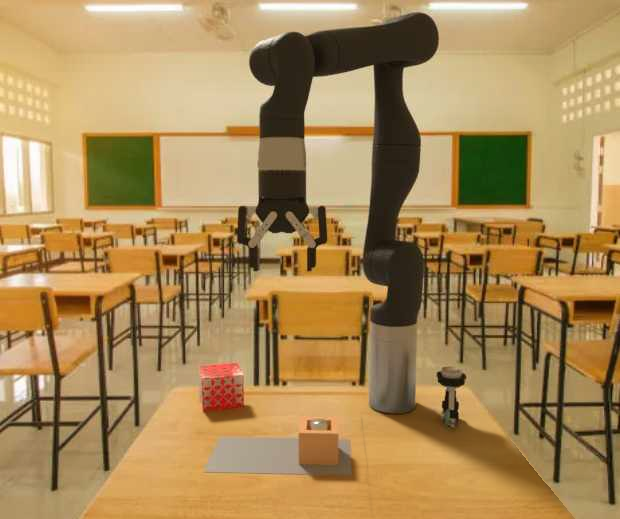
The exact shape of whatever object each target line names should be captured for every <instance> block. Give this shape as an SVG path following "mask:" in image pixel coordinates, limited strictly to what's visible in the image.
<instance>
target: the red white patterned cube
mask: <svg viewBox="0 0 620 519" xmlns="http://www.w3.org/2000/svg"><path fill="white" fill-rule="evenodd" d="M244 382H245V381H244V373H243V371H242V369H241V367H240V365H239V362H231V363H230V362H228V363H227V362H226V363H216V364H206V365H205V364H203V365H198V395H199V400H198V401H199V402H198V403H199V405H201V406H202V411H211V410H221V409H223V410H224V409H231V408H242V407H244V406H245V396H244V395H245V393H244V391H245V390H244V389H245V387H244Z"/></svg>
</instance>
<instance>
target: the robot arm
mask: <svg viewBox="0 0 620 519" xmlns="http://www.w3.org/2000/svg"><path fill="white" fill-rule="evenodd" d="M439 41H440V36H439V29H438V26H437V24H436V22H435V20H434V19H433V18H432V17H431V16H430V15H429V14H426V13H424V12H420V11H419V12H410V13H405V14H403V15H398V16H396V17H392V18H388V19H386V20H384V21H382V22H381V23H379V24H377V25H370V26H369V25H368V26H358V27H344V28H335V29H334V28H333V29H326V30H325V29H324V30H317V31H313V32H311V33H308V34H305V35H304V34H302V33H300V32H298V31H287V32H285V33H280V34H278V35H275V36H272V37H269V38H266V39H263V40H261V41H259V42H258V43H257V44H256V45H255V46H254V47H253V48H252V50H251V53H250V55H249V57H248V58H249V59H248V60H249V61H248V65H249V70H250V73H251V74H252V76H253V77H254V79H256V80H257V81H258V82H259V83H261V84H263V85H264V86H268V87H274V88H273V92H272V94H271V96H270V97H269V98H268V99H267V100H265V101H264V102H263V103H261V105H260V108H259V115H258V116H259V117H258V118H259V123H258V124H259V128H258V129H259V142H258V144H259V145H258V152H257V170H258V173H257V174H258V179H257V180H258V184H257V185H258V202H257V204H256V207H255V206H247V205H240V206H239V207H238V209H237V210H238V211H237V229H236V230H237V234H236V241H237V243H238V244H239V245H240V244H241V245H243V246H246V247H248V250H249V251H248V254H249V255H248V257H249V258H248V259H249V267H250V268H252V269H253V272H259V271H260V247H259V244H260V242H261V240H262V239H263V238H264V237H265V235H266V234H267V233H268V232H269V233H272V234H279V233H280V234H281V233H284V234H294V233H295V232H297V234H299V237H300V238H302V239H303V241H304V242H305V243H306V245H307V248H306V272H312V271H313V269H316V265H317V248H318V247H319V246H321V245H325V244H327V243H328V226H327V224H328V223H327V222H328V221H327V211H326V210H327V209H326V206H324V205H319V206H309V205H308V203H307V151H306V144H305V143H306V142H305V138H306V137H305V136H306V135H305V130H306V129H305V124H306V123H305V111H306V108H307V104H308V100H309V98H310V97H309V96H310V92H311V87H312V83H313V79H314V78H321V77H328V76H335V75H339V74H344V73H349V72H352V71H355V70H356V71H357V70H360V69H363V68H368V67H371V66H373V80H374V81H373V82H374V83H373V85H374V86H373V87H374V89H373V90H374V107H373V108H374V110H373V114H374V115H373V116H374V118H373V136H372V137H373V138H372V148H371V150H372V151H371V152H372V153H371V181H370V182H371V183H370V193H369V194H370V195H369V208H368V216H367V224H366V230H365V238H364V244H363V249H362V250H363V253H362V268H363V270H362V271H363V273H364V275H365V276H364V277H365V278H366V279H367V281H369V282H370V283H372V284H374V285H377V286H378V285H379V286H382V287H386V288H387V292H386V299H385V300H384V301H383V302H380V303H379V302H378V303H376V304H374V305H372V307H370V313H369V323H370V324H369V369H368V371H369V373H368V375H369V377H368V378H369V380H368V381H369V384H368V405H369V407H370V408H372V409H373V410H376V411H377V412H378V411H379V412H380V413H381V412H382V413H384V414H385V413H387V414H404V413H409V412H411V411H413V410H414V409H415V408H416V389H417V387H416V384H417V355H418V354H417V353H418V352H417V350H418V349H417V348H418V346H417V345H418V344H417V343H418V316H419V312H420V309H421V307H422V303H423V302H422V300H423V289H424V275H425V261H424V255H423V251H422V250H421V248H420V247H419V246H418V244H416V243H414V242H411V241H406V240H398V239H397V227H398V218H399V215H400V211H401V209H402V207H403V206H404V203H405V201H406V200H407V197H408V196H409V194H410V193H411V190H412V189H413V187H414V185H415V183H416V181H417V179H418V176H419V173H420V166H421V165H420V164H421V150H422V148H421V147H422V141H421V140H422V139H421V133H420V130H419V128H418V125H417V123H416V121H415V120H414V117H413V116H412V115H413V114H411V111H410V110H409V107H408V105H407V103H406V101H405V97H404V86H403V84H404V83H403V77H404V76H403V75H404V69H406V68H411V67H415V66H420V65H422V64H425V63H427V62H428V61H431V59H433V57H434V56H435V55H436V53H437V50H438V48H439ZM254 214H255V215H256V216H257V219H259V220H260V222H261V225H260V226H259V227H258V229H257V230H256V232H255V233H254V235H253V236H251V237H249V236H248V225H249V224H248V223H249V222H248V221H249V220H251V219H252V218H253V215H254ZM309 214H311V215H312V217H313V220H315V221H317V222H318V234H319V235H318V236H317V237H315V238H314V237H313V235H312V234H311V233H310V231H309V230H308V228H307V227H306V225H305V224H304V221H305V220H306V219H307V217H308V216H309Z"/></svg>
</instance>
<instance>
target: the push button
mask: <svg viewBox="0 0 620 519" xmlns="http://www.w3.org/2000/svg"><path fill="white" fill-rule="evenodd" d="M436 377H437V383H439V385H441V386H442V387H443V388H445V394H444V400H442V401H441V408H442V411H441V421H443V419H444V422H445V425H446V426H450V428H456V427H457V422H459V419H460V417H459V416H460V415H459V409H460V403H459V401H458V400H457V389H459V388H461V387H462V386H464V385H465V384H466V382H465V381H466V380H467V375H466V374H465V373H463V372H462V369H461V368H460V367H457V366H456V367H455V366H443V367H442V368H441V370H440V371H437V372H436Z"/></svg>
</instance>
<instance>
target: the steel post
mask: <svg viewBox="0 0 620 519" xmlns="http://www.w3.org/2000/svg"><path fill="white" fill-rule="evenodd" d="M311 430H327V421H326V420H325V419H313V420H311Z"/></svg>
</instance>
